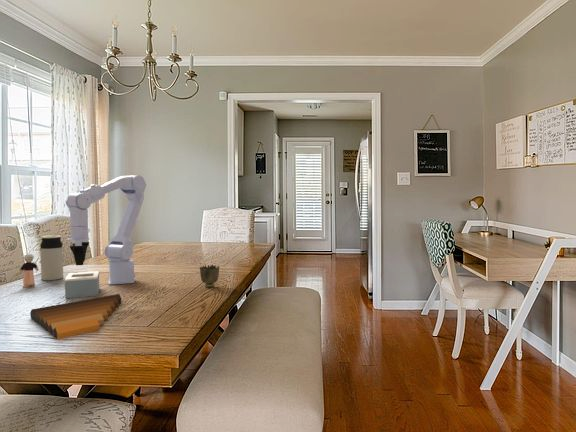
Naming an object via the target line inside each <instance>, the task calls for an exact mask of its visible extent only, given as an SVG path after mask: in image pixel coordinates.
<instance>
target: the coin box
mask: <svg viewBox="0 0 576 432" xmlns="http://www.w3.org/2000/svg"><path fill="white" fill-rule="evenodd" d="M64 291H65V294H64V296H65V299H73V298H83V297H84V298H85V297H95V296H96V297H97V296H98V295H99V292H100V271H98V270H96V271H95V270H94V271H85V272H84V271H83V272H82V271H78V272H69V273H68V274H67V275H66V277H65V279H64Z"/></svg>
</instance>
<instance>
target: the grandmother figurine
mask: <svg viewBox="0 0 576 432" xmlns="http://www.w3.org/2000/svg"><path fill="white" fill-rule="evenodd" d="M34 258H35V256H34V254H32V253H26V254H25V255H24V256H23V260H24V261H25V263H23V264H22V265H21V267H20V268H19V271H18V275H22V273H23V278H22V284H23V285H22V288H29V287H36V284H35V283H36V282H35V275H34V271H36V272H38V271H40V270H39V267H38V265H37V264H36V262H33V260H34ZM34 269H35V270H34ZM23 271H24V272H23Z"/></svg>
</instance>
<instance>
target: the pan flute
mask: <svg viewBox="0 0 576 432" xmlns="http://www.w3.org/2000/svg"><path fill="white" fill-rule="evenodd" d="M121 303H122V297H121V295H120V293H117V294H112V295H106V296H101V297H94V298H87V299H84V300H83V299H82V300H78V301H72V302H71V301H70V302H67V303H66V302H65V303H61V304H60V303H59V304H54V305H50V306H49V305H48V306H44V307H38V308H33V309H31V310H30V312H29V314H30V319H31V320H32V321H34V322H35V323H36V324H37V325H39V327H41V328H42V329H43V330H45V331H46V332H47V333H49V334H50V335H51V336H52V337H54V339H56V340H60V339H64V338H68V337H74V336H79V335H82V334H87V333H90V332H96V331H99V330H100V326H103V325H104V322H105V321H107V320H108V317H109V316H112V312H115V311H116V308H118V307H119V304H121ZM108 315H109V316H108Z"/></svg>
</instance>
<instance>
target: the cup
mask: <svg viewBox="0 0 576 432" xmlns="http://www.w3.org/2000/svg"><path fill="white" fill-rule="evenodd" d="M216 266H217V265H213V264H210V265H202V266H200V267H199V274H200V280H201V282H202V283H204V287H205V288H206V287H207V288H206V289H212V288H211V287H213V288H214V287H215V283H216V282H218V279H219V274H220V266H219V265H218V266H217V267H216Z"/></svg>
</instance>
